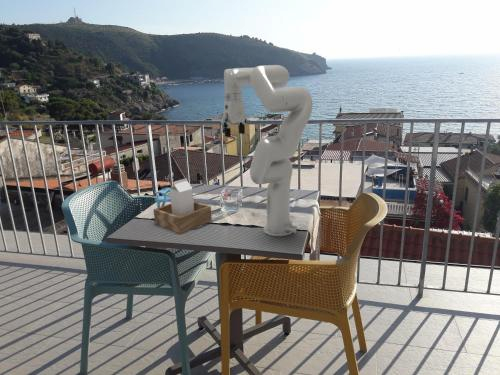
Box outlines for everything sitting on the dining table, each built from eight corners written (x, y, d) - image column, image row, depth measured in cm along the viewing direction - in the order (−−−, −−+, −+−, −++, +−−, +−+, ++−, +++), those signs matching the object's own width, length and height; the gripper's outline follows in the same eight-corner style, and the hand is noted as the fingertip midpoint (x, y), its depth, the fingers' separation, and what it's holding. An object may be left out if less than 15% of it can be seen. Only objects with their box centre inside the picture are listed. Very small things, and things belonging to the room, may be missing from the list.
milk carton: (195, 220, 172) (191, 179, 167) (182, 224, 167) (178, 183, 162) (185, 216, 177) (181, 176, 171) (172, 220, 172) (168, 180, 166)
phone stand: (164, 207, 192) (161, 185, 188) (177, 209, 188) (175, 186, 185) (154, 213, 185) (151, 189, 182) (168, 215, 182) (165, 191, 178)
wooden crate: (211, 220, 174) (210, 206, 172) (181, 233, 161) (179, 218, 159) (185, 212, 185) (184, 198, 183) (155, 223, 172) (153, 209, 170)
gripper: (226, 99, 163) (228, 138, 169) (252, 96, 176) (253, 133, 181) (213, 98, 168) (216, 137, 173) (240, 95, 181) (241, 131, 186)
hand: (235, 135), depth 177 cm, fingers open, 9 cm apart
